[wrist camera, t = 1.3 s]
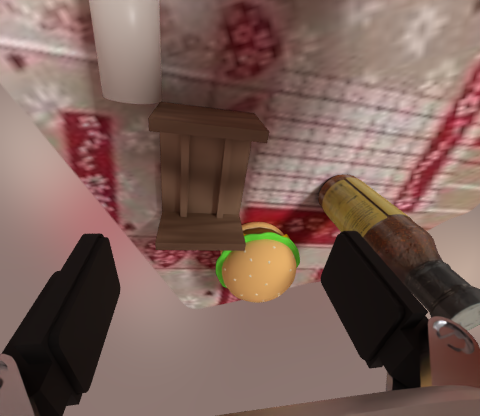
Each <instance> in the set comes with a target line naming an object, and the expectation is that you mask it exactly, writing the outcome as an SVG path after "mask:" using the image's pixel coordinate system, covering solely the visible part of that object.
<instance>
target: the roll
mask: <svg viewBox="0 0 480 416" xmlns="http://www.w3.org/2000/svg"><path fill="white" fill-rule="evenodd" d="M89 5H90V12H91V19H92V26H93V32H94V39H95V46H96V53H97V60H98V67H99V74H100V81H101V87H102V94H103V97H104V98H106V99H109V100H112V101H117V102H122V103H130V104H156V103H160V102H162V81H161V43H160V4H159V0H89Z"/></svg>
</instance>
